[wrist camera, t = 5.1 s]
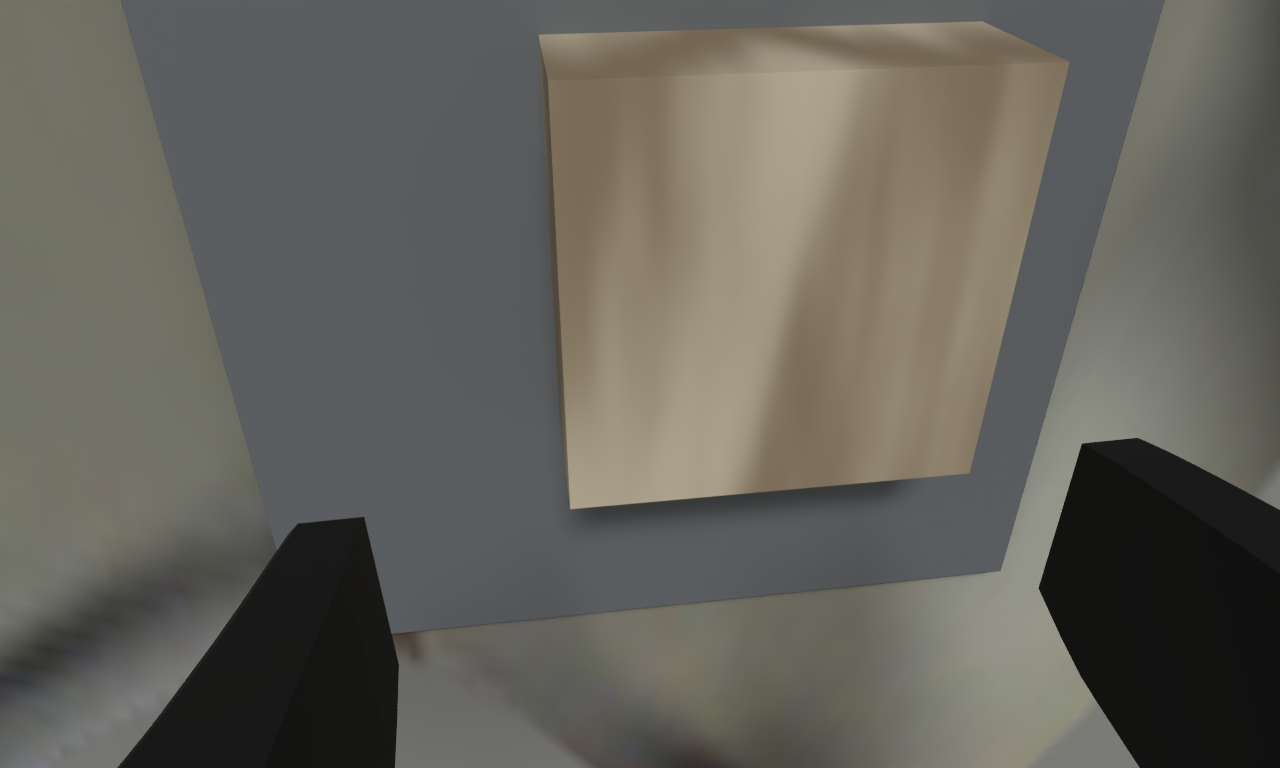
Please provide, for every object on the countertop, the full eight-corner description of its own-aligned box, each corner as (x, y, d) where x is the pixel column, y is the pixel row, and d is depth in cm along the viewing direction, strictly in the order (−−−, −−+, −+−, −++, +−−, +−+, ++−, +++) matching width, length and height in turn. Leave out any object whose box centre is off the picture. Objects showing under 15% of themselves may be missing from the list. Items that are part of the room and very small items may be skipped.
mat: (1253, -400, 14) (1281, -407, 14) (990, 555, 25) (1000, 570, 25) (16, -433, 12) (-4, -443, 12) (307, 624, 23) (303, 643, 23)
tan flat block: (537, 34, 16) (981, 21, 17) (559, 419, 20) (912, 392, 21) (548, 80, 13) (1069, 62, 14) (570, 509, 18) (969, 473, 19)
